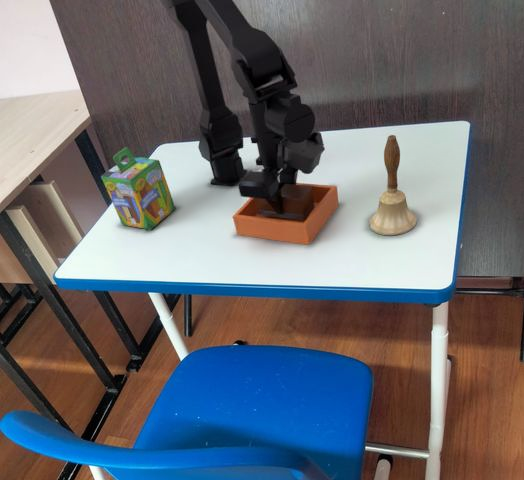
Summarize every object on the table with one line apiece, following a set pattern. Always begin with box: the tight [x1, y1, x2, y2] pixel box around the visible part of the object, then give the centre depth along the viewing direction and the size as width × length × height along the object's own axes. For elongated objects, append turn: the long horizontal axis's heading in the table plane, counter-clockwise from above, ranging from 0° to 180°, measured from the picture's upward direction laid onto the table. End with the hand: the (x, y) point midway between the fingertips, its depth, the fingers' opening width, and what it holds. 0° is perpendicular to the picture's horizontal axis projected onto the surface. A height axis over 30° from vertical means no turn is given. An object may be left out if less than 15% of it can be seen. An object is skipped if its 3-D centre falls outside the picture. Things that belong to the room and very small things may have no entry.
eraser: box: [255, 184, 314, 220], centre depth 100 cm, size 10×4×4 cm, turn 61°
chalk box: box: [100, 146, 177, 231], centre depth 110 cm, size 9×9×15 cm
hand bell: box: [369, 134, 418, 236], centre depth 90 cm, size 8×8×16 cm
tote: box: [232, 182, 340, 246], centre depth 101 cm, size 16×14×4 cm
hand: (285, 206), depth 101 cm, fingers closed on eraser, 4 cm apart
